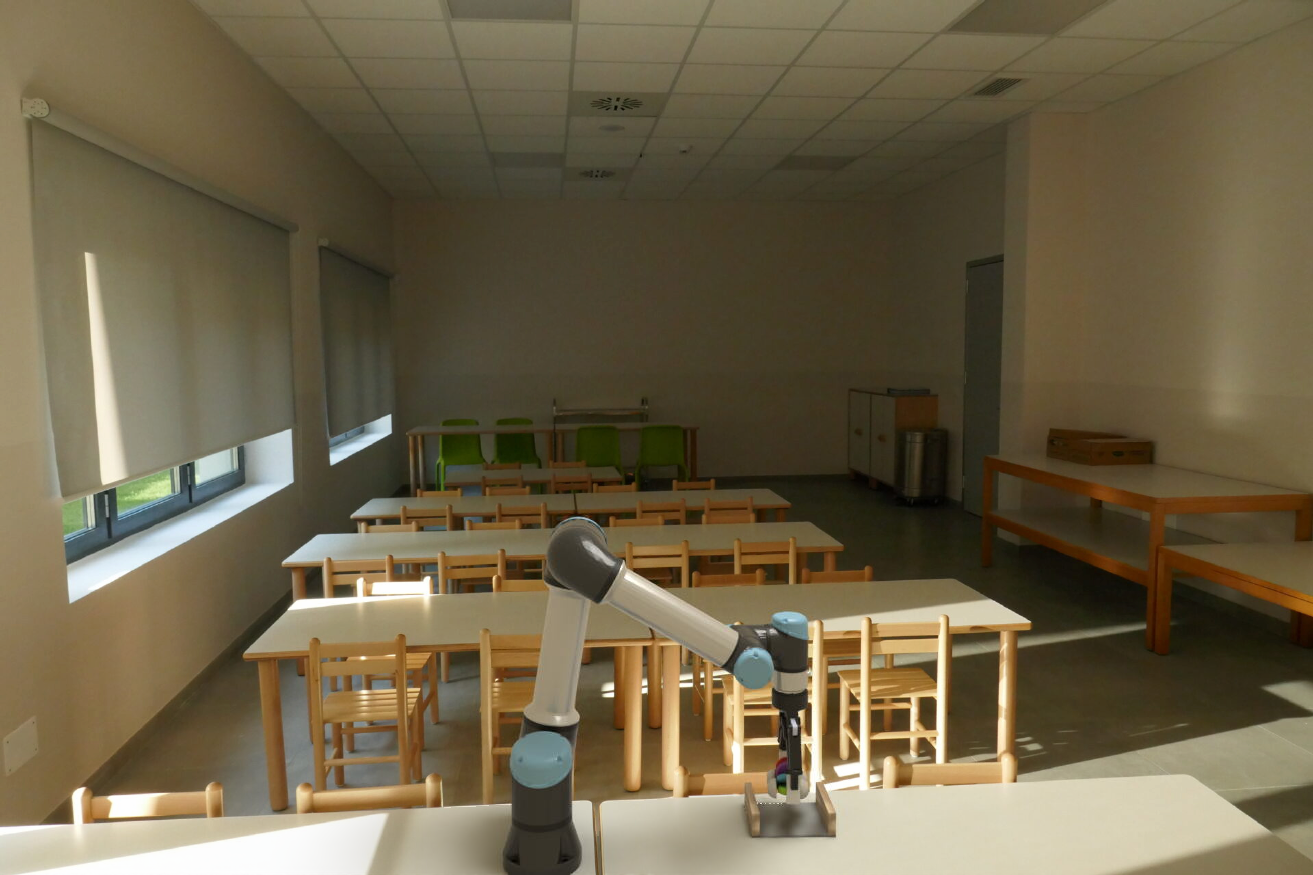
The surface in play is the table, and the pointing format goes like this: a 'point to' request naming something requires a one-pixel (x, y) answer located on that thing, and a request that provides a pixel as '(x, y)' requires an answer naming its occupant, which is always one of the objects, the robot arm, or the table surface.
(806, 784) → the rainbow petal toy
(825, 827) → the bay
